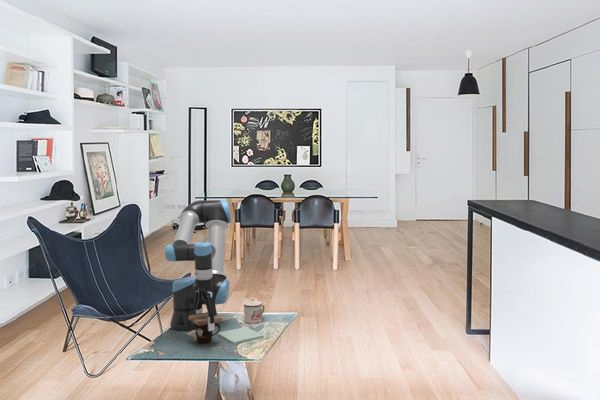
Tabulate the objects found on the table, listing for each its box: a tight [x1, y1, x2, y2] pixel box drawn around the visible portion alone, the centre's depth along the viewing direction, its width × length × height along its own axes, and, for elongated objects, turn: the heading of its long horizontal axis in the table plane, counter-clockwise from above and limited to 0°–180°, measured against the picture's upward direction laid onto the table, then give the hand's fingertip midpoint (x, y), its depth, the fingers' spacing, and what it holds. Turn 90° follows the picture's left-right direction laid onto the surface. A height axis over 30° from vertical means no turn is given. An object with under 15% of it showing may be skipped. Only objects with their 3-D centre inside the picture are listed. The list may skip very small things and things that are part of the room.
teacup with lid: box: [243, 297, 266, 324], centre depth 289 cm, size 12×9×12 cm
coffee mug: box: [194, 323, 221, 345], centre depth 258 cm, size 12×9×10 cm
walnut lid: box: [188, 311, 223, 326], centre depth 257 cm, size 11×11×2 cm
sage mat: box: [216, 326, 265, 345], centre depth 266 cm, size 16×15×1 cm
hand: (205, 327), depth 258 cm, fingers closed on walnut lid, 11 cm apart
